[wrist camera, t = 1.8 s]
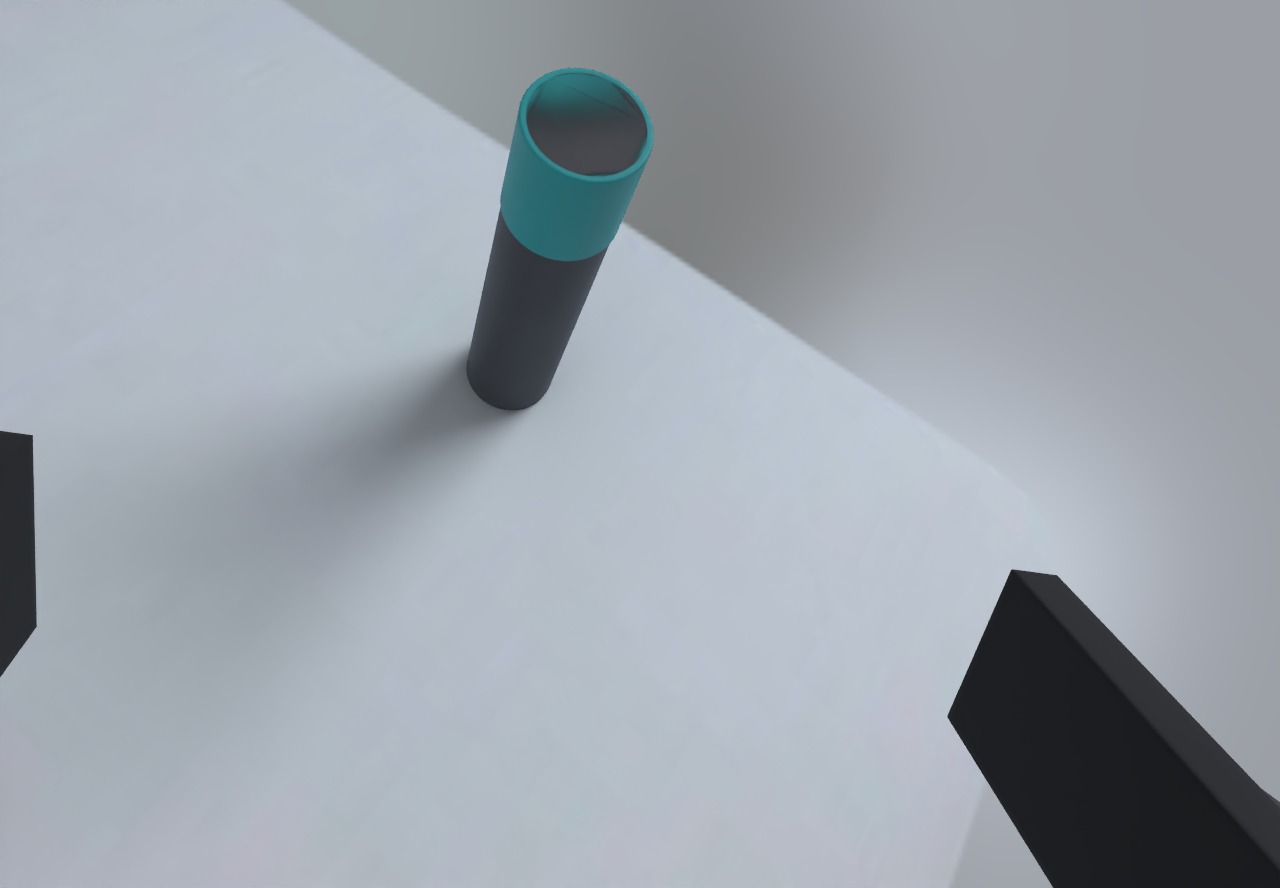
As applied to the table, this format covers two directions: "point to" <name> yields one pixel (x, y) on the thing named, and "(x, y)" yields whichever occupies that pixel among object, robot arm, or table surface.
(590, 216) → the marker
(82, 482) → the table surface
